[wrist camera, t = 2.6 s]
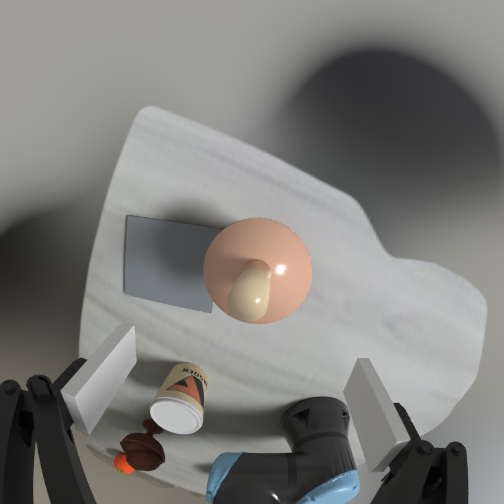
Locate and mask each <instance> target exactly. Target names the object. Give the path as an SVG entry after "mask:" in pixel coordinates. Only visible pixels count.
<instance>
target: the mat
mask: <svg viewBox="0 0 504 504" xmlns="http://www.w3.org/2000/svg"><path fill="white" fill-rule="evenodd" d="M222 230H223V229H217V228H211V227H205V226H198V225H192V224H186V223H179V222H173V221H166V220H160V219H153V218H146V217H140V216H133V215H128V217H127V230H126V249H125V294H126V295H130V296H134V297H139V298H143V299H147V300H151V301H156V302H160V303H164V304H169V305H173V306H178V307H183V308H188V309H193V310H198V311H203V312H208V313H211V312H212V305H213V300H212V298H211V296H210V295H209V293H208V290H207V288H206V285H205V281H204V273H203V267H204V260H205V256H206V253H207V250H208V248H209V246H210V244H211V243H212V241H213V240H214V238H215V237H216V236H217V235H218V234H219V233H220V232H221V231H222Z"/></svg>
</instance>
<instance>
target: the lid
mask: <svg viewBox="0 0 504 504" xmlns="http://www.w3.org/2000/svg"><path fill="white" fill-rule="evenodd" d="M203 273H204V281H205V285H206V288H207V290H208V293H209V295H210V296H211V298H212V300H213V301H214V302H215V304H216V305H217V306H218V307H219V308H220V309H221V310H222V311H223V312H225V313H226V314H228V315H229V316H231V317H233V318H234V319H237V320H239V321H242V322H246V323H252V324H266V323H272V322H275V321H278V320H281V319H283V318H285V317H287V316H288V315H290V314H291V313H293V312H294V311H295V310H296V309H297V308H298V307H299V306H300V305H301V303H302V302H303V301H304V299H305V297H306V296H307V293H308V291H309V288H310V285H311V280H312V264H311V259H310V256H309V253H308V251H307V249H306V247H305V245H304V243H303V242H302V240H301V239H300V238H299V236H298V235H297V234H296V233H295V232H294V231H292V230H291V229H290V228H288V227H287V226H285V225H283V224H282V223H279V222H277V221H274V220H271V219H266V218H249V219H244V220H241V221H238V222H236V223H233V224H231V225H230V226H228V227H226V228H225V229H224V230H222V231H221V232H220V233H219V234H218V235H217V236H216V237H215V238H214V240H213V241H212V243H211V244H210V246H209V248H208V250H207V253H206V256H205V260H204V267H203Z"/></svg>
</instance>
